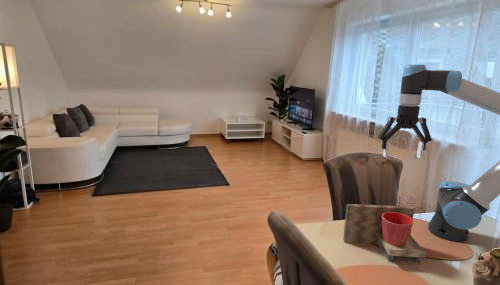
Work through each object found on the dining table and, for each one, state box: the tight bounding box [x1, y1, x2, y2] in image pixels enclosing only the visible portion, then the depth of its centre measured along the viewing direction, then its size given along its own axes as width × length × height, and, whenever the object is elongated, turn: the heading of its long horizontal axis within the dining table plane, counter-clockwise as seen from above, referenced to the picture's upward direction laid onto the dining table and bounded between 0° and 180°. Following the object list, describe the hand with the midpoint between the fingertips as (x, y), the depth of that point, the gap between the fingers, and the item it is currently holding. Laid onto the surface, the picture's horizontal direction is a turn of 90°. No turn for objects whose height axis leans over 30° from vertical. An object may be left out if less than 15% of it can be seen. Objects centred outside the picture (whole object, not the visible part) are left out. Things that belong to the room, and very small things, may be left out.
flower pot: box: [382, 212, 414, 246], centre depth 121 cm, size 11×11×10 cm
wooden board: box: [342, 203, 415, 245], centre depth 129 cm, size 26×2×16 cm, turn 88°
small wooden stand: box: [376, 233, 428, 263], centre depth 122 cm, size 13×14×6 cm
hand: (401, 157), depth 129 cm, fingers open, 13 cm apart
